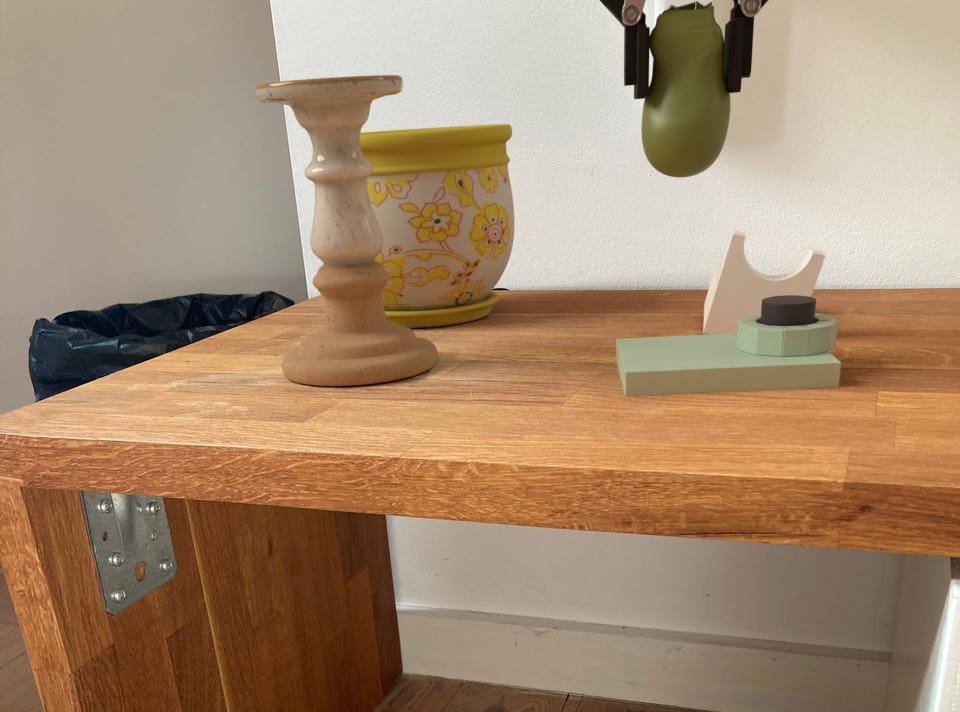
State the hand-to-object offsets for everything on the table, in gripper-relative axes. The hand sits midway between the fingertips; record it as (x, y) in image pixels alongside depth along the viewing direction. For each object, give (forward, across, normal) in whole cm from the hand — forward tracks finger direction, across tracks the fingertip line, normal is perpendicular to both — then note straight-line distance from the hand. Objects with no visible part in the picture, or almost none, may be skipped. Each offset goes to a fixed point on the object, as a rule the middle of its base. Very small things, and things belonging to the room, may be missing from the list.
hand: (686, 92), depth 65 cm
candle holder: (+18, -24, +7) cm, 31 cm away
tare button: (+15, +7, 0) cm, 17 cm away
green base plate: (+18, +3, 0) cm, 18 cm away
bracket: (+18, +8, +16) cm, 25 cm away
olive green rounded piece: (+5, 0, 0) cm, 5 cm away
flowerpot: (+18, -21, +29) cm, 40 cm away
